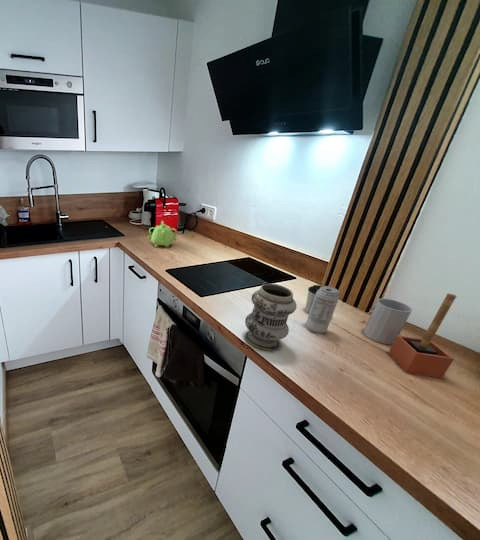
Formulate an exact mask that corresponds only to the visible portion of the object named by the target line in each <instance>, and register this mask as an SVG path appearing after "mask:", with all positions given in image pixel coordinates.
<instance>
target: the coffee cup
mask: <svg viewBox="0 0 480 540" xmlns="http://www.w3.org/2000/svg"><path fill="white" fill-rule="evenodd" d="M321 286H322V285H321V284H320V285H319V284H314V285H312V286H309V287H308V289H307V290H308V291H307V298H306V302H305V308H304V311H305V312H306V313H307V314H309V313H310V310H311V307H312V304H313V301H314V298H315V295H316V292H317V290H319V289H320V287H321Z"/></svg>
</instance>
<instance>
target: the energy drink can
mask: <svg viewBox="0 0 480 540" xmlns="http://www.w3.org/2000/svg"><path fill="white" fill-rule="evenodd" d="M339 292H340V291H339V289H337V288H335V287H333V286H329V285H321V287H320V289H319V290H317V292H316V295H315V298H314V301H313V304H312V307H311V310H310V313H308V316H307V318H306V322H305V326H306V328H307V329H308V330H309V331H311V332H313V333H317V334H324V333H325V332H327V331H328V328H329V325H330V324H331V320H332V317H333V315H334V313H335V310H336V307H337V306H338V305H337V304H338V303H339V300H340V293H339Z"/></svg>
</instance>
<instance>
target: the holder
mask: <svg viewBox="0 0 480 540" xmlns="http://www.w3.org/2000/svg"><path fill="white" fill-rule="evenodd" d="M422 339H423V338H419V337H412V336H405V335H397V336H396V338H395V340H394V342H393V344H391V347H390V348H389V351H388V353H387V354H388V355H389V356H390V357H391V358H392V359H393V360H394V361H395V362H396V363H397V364H398V365H399V366H400V368H402V369H403V371H404V372H405V373H408V374H415V375H422V376H427V377H434V378H438V379H443V378H444V375H446V372H448V369H449V368H450V366H451V365H452V363H453V361H454V360H455V359H454V357H452V356H451V355H450V354H448V353H447V352H446V351H445V350H443V349H442V348H441V347H440V346H439V345H438V344H436V343H435V342H434V341H432V340H431V342H430V344H429V346H430V347H432V348H433V349H434V350H435V351H436V352H437V354H436V355H432V354H425V353H419V352H417V351H416V350H415V349H413V348H412V347H411V346H410V345H409V344H408V343H409V341H414V342H421V341H422Z"/></svg>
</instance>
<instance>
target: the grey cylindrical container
mask: <svg viewBox="0 0 480 540" xmlns="http://www.w3.org/2000/svg"><path fill="white" fill-rule="evenodd" d="M412 312H413V309H412V307H410V306H409V305H408V304H405V303H403V302H401V301H398V300H394V299H390V298H383V297H382V298H378V299H377V300H376V302H375V304H374V306H373V309H372V310H371V313H370V316H369V318H368V319H367V321H366V324H365V327H364V329H363V334H364V335H365V336H366V338H369V339H371V340H372V341H373V342H377V343H379V344H384V345H392V344H393V342H394V340H395V338H396V336H397V335H399V336H401V333H402V331H403V329H404V328H405V325H406V323H407V321H408V319H409V317H410V316H411V313H412Z"/></svg>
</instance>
